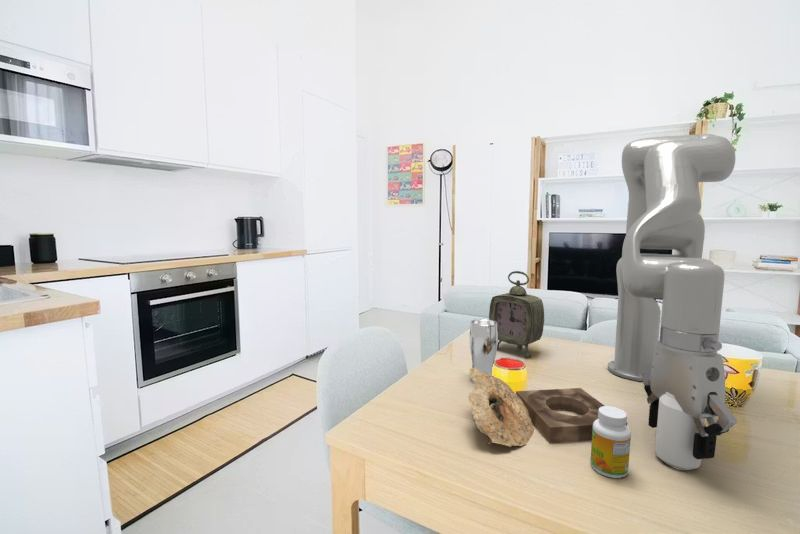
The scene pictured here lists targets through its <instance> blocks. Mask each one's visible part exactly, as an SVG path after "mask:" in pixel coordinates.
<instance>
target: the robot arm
mask: <svg viewBox="0 0 800 534" xmlns="http://www.w3.org/2000/svg"><path fill="white" fill-rule="evenodd" d="M735 165H736V152H735V148H734V146H733V144H732V142H731V141H730V140H729V139H728V138H726V137H723V136H721V135H720V136H719V135H716V134H712V133H700V134H699V133H698V134H684V135H671V136H669V135H668V136H667V135H666V136H665V135H664V136H655V137H654V136H653V137H645V138H644V137H643V138H639V139H635V140H633V141H630V142H628V143H627V144H626V145H625V146H624V148H623V150H622V152H621V168H622V173H623V177H624V179H625V183H626V186H627V191H628V204H627V216H626V226H625V227H626V228H625V231H626V232H625V237H624V240H623V244H622V250H621V251H622V252H621V257H620V259H618V261H617V263H616V269H615V270H616V281H617V282H616V283H617V293H618V294H617V296H618V297H617V299H618V300H617V314H616V315H617V316H616V326H615V327H616V329H615V331H616V332H615V343H614V344H615V346H614V360H611V361H609V362H608V363H607V366H606V367H607V370H608V371H609V372H610V373H611V374H613V375H616V376H617V377H620V378H625V379H628V380H631V381H632V380H633V381H637V382H638V381H639V382H643V385H644V392H645V393H646V395H647V398H646V401H647V404H648V405H649V409H648V411H649V413H648V422H647V423H648V424H647V425H648V427H650V428H657V421H658V409H659V398H660V397H661V396H662V395H664V394H666V392H668V393H669V394H671V395H673V396H675V400H676V401H677V403H678V404H679V405H680V407H681V409H682V410H683V412H685V413H686V414H688V415H690V416H692V417H693V419H694V422H695V424H696V427H697V429H698V432H699V433H695V434H694V445H693V457H694V458H696V459H701V460H705V459H714V458H715V455H716V446H717V437H718V436H722V435H723V434H725V433H728V432H729V431H730V429H731V428H733V427H734V426H735V425H736V424H737V422H738V420H737V418H736V417H735V416H734V414H733V413H732V412H731V411H730V410H729V408H728V407H727V406H726V372H725V365H724V360H723V355H722V354H720V353H719V352H718V351H721V350H722V348H723V344H722V343H721V342H719V339H720V338H719V336H720V328H721V326H720V325H721V317H722V308H723V298H724V295H723V294H724V288H725V287H724V286H725V271H724V269H723V268H722V267H721V266H720V265H718V264H715V263H714V262H712V261H711V260H710V259H706V258H703V249H704V244H705V243H704V242H705V234H706V233H705V232H706V231H705V222H704V219H703V217H702V215H701V214H699V213H700V211H701V209H702V201H701V193H700V192H701V191H700V186H699V185H700V184H699V183H715V182H716V183H718V182H723V181H726V180H727V179H728V178H729V177H730V176H731V174H732V173H733V171H734V169H735ZM641 249H643V250H644V249H646V250H674V251H676V252H677V254H666V253H665V254H662V253H661V254H659V253H641ZM655 299H661V300H662V303H661V307H660V305H659V304H658V302H657V301H656V300H655ZM702 411H704V412H705V413H702ZM703 418H705V420H706V421H707V423H708V425H706V422H705V423H704V421H703ZM717 418H718V419H717Z"/></svg>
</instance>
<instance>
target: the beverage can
mask: <svg viewBox="0 0 800 534" xmlns="http://www.w3.org/2000/svg"><path fill="white" fill-rule="evenodd" d="M702 413H705V412H704V411H702ZM703 421H704V423H705V424H706V418H703ZM695 433H699V432H698V429H697V427H696V424H695V422H694V419H693V417H692V416H690V415H688V414H686V413H685V412H683V410H682V409H681V407H680V405H679V404H678V403H677V401H676V400H675V396H673V395H671V394H669V393H668V392H666V394H664V395H662V396H661V397H660V398H659V409H658V421H657V427H656V435H655V447H654V448H655V450H654V451H655V454H656V455H657V457H658V458H659V459H660V460H662V461H663V463H665V464H666V465H668V466H670V467H672V468H674V467H675V469H677V468H678V470H682V469H683V471H689V470H696V469H698V468H700V466H701V464H702V459H696V458H694V457H693V445H694V434H695Z"/></svg>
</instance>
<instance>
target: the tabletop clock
mask: <svg viewBox="0 0 800 534" xmlns="http://www.w3.org/2000/svg"><path fill="white" fill-rule="evenodd" d="M513 274H518V275H519V274H520V275H523V276H525V277H526V281H525V282H521V281H520V280H516V282H515V281H512V280H511V276H512V275H513ZM507 279H508V281H509V282H510V283H511V284H512V285H514V286H512V287H511V288H510V289H509V292H507V293H503V294H498V295H494V296H492V298H491V300H490V303H489V313H488V320H493V321H496V322H497V323H498V346H497V350H498V349H499V348H500V344H501V343H502V342H503V343H506V344H510V345H514V346H516V349H517V350H518V349H519V350H518V351H521V350H523V346H524V348H525V351H526V352H525V353H524V356H525V358H530V357H531V356H532V354H531V352H530V351H529V345H531V344H533V343H536V342H538V341H540V340H541V339H542V336H543V332H544V328H545V327H544V326H545V309H544V302H543V300H542V299H541V298H539V297H538V296H535V295H532V294H527V291H526V288H525V287H524V286H526V285H527V284H528V283H530V282H529V281H530V277H529V275H528V274H527V273H526V272H524V271H519V270H515V271H511V272H510V273H509V274H508V276H507Z"/></svg>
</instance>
